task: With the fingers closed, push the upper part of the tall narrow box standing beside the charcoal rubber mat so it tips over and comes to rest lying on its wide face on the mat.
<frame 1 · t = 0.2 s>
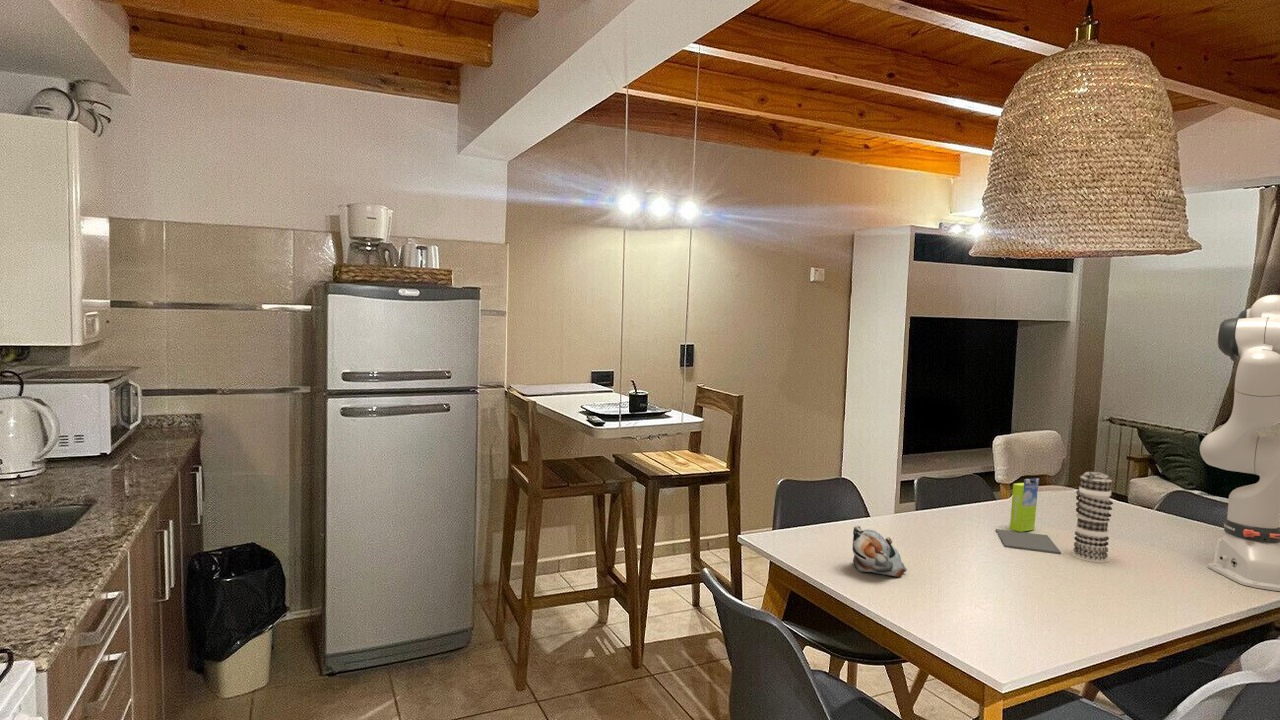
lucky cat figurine: (877, 572, 190), on the table
decorative candle: (1089, 558, 210), on the table
mat: (1026, 541, 224), on the table
box: (1022, 530, 236), on the table, touching mat
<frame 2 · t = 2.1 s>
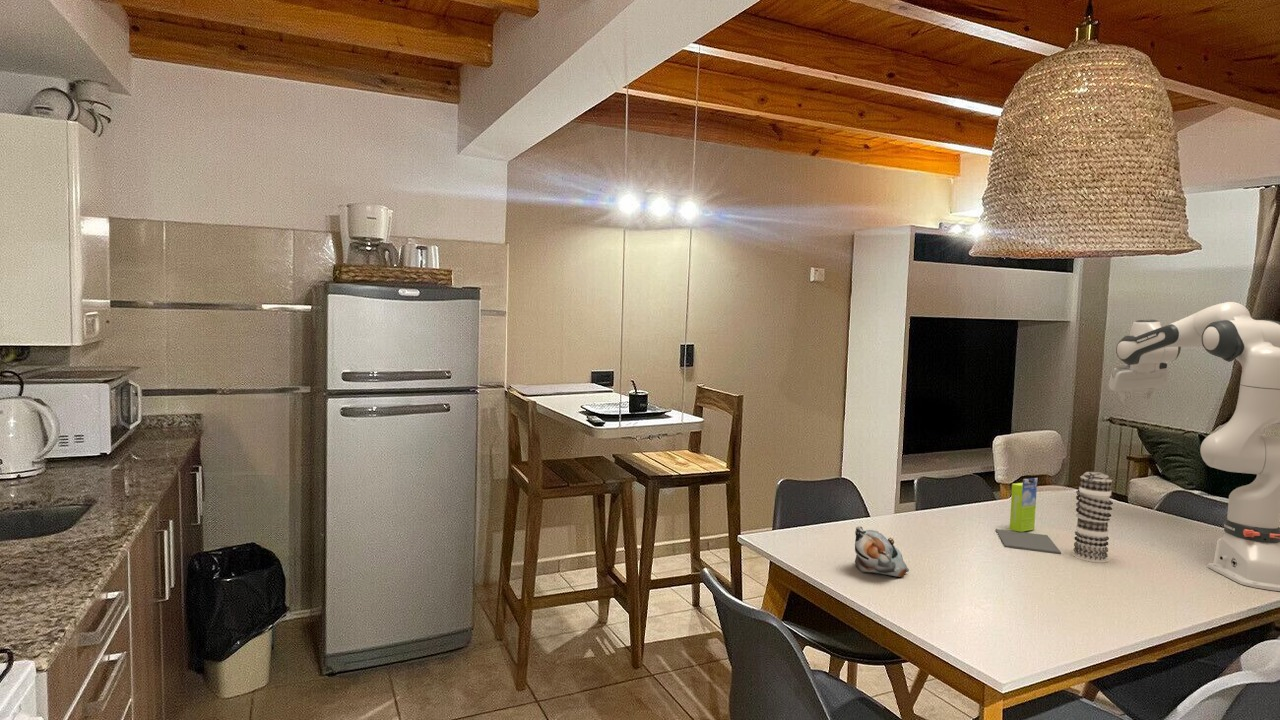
hand: (1135, 400, 258), 43 cm above the table, tool tilted 15°, fingers open, 8 cm apart
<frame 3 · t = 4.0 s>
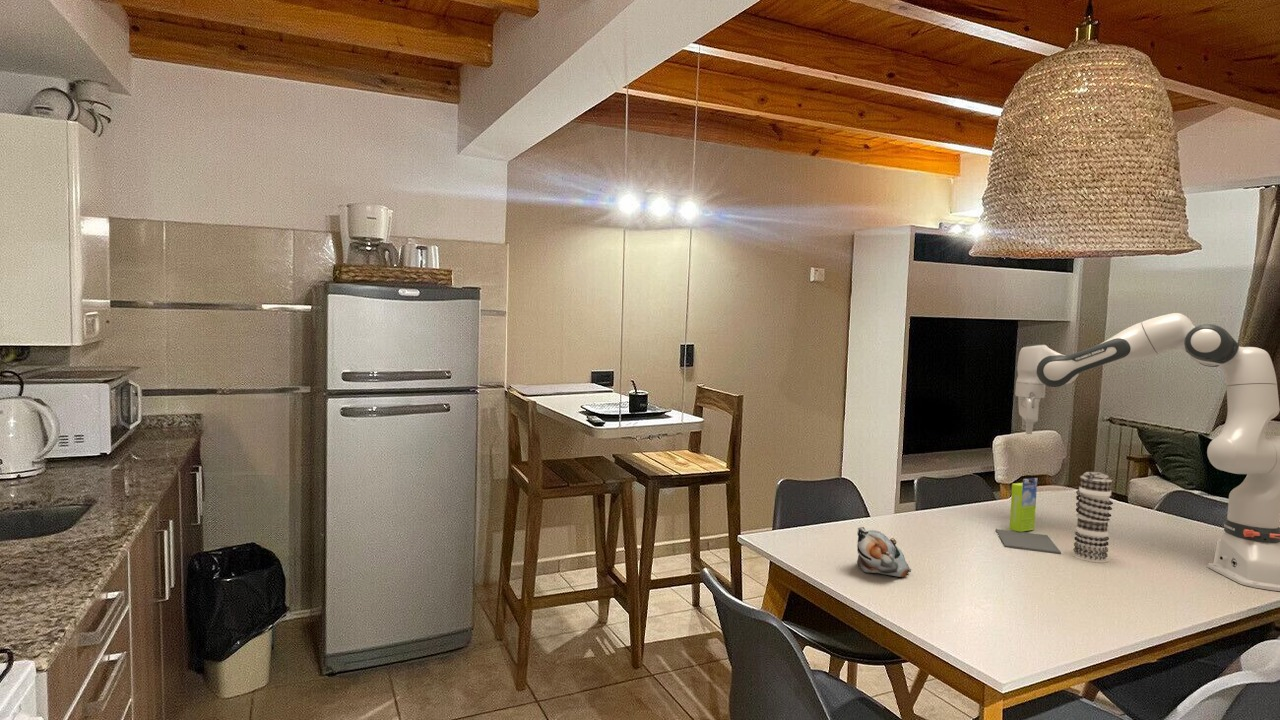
hand: (1026, 432, 244), 32 cm above the table, tool pointing down, fingers open, 8 cm apart
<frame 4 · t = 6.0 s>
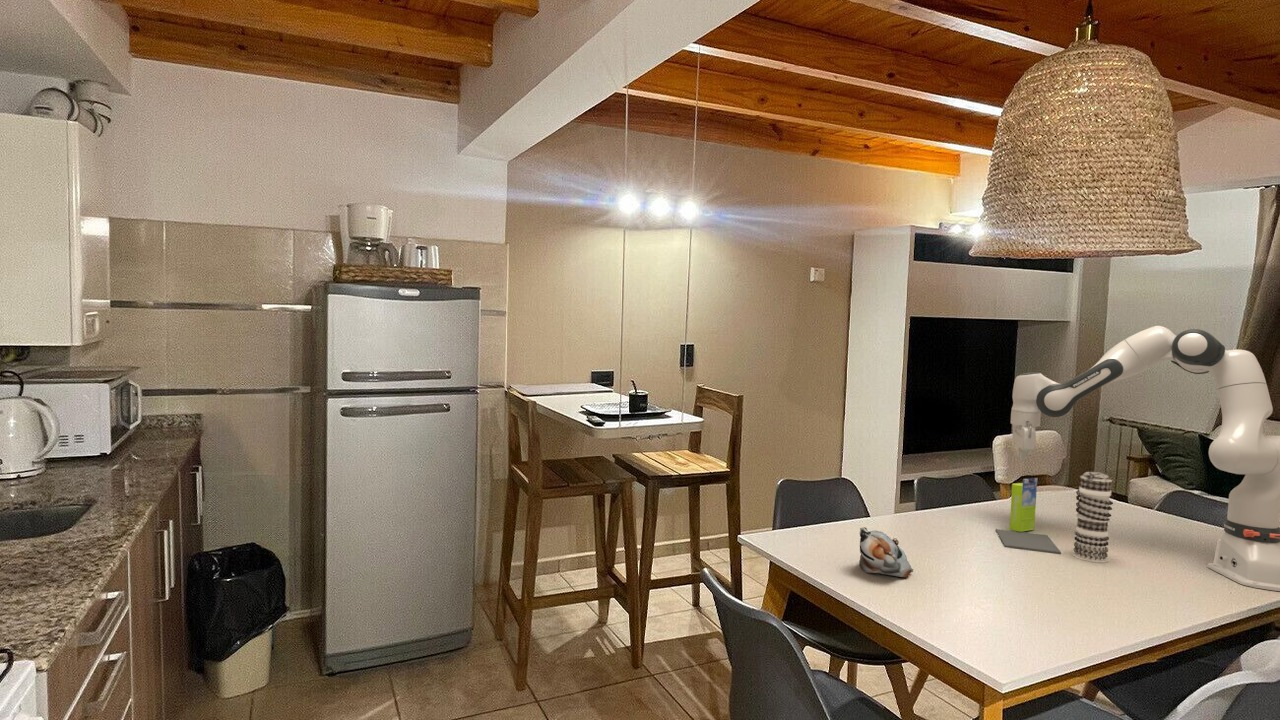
hand: (1022, 460, 243), 22 cm above the table, tool pointing down, fingers closed
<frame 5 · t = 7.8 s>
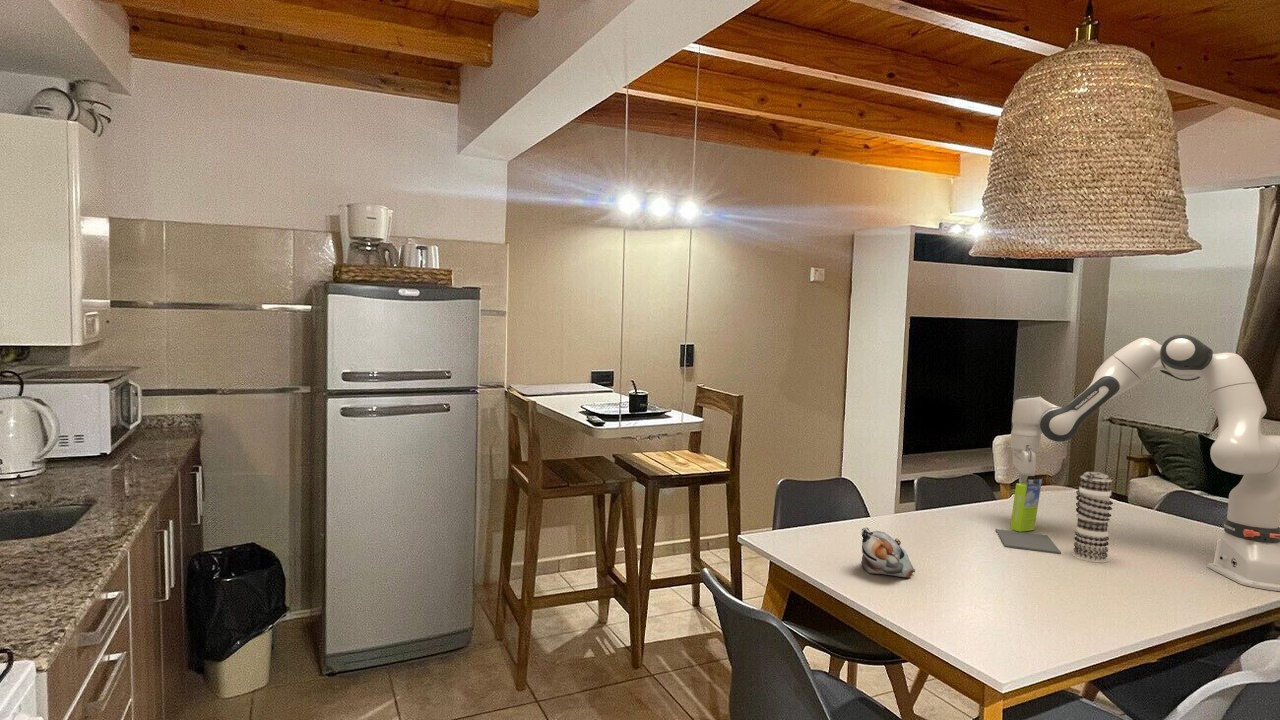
hand: (1022, 484, 240), 14 cm above the table, tool pointing down, fingers closed
box: (1022, 530, 236), on the table, touching gripper, mat
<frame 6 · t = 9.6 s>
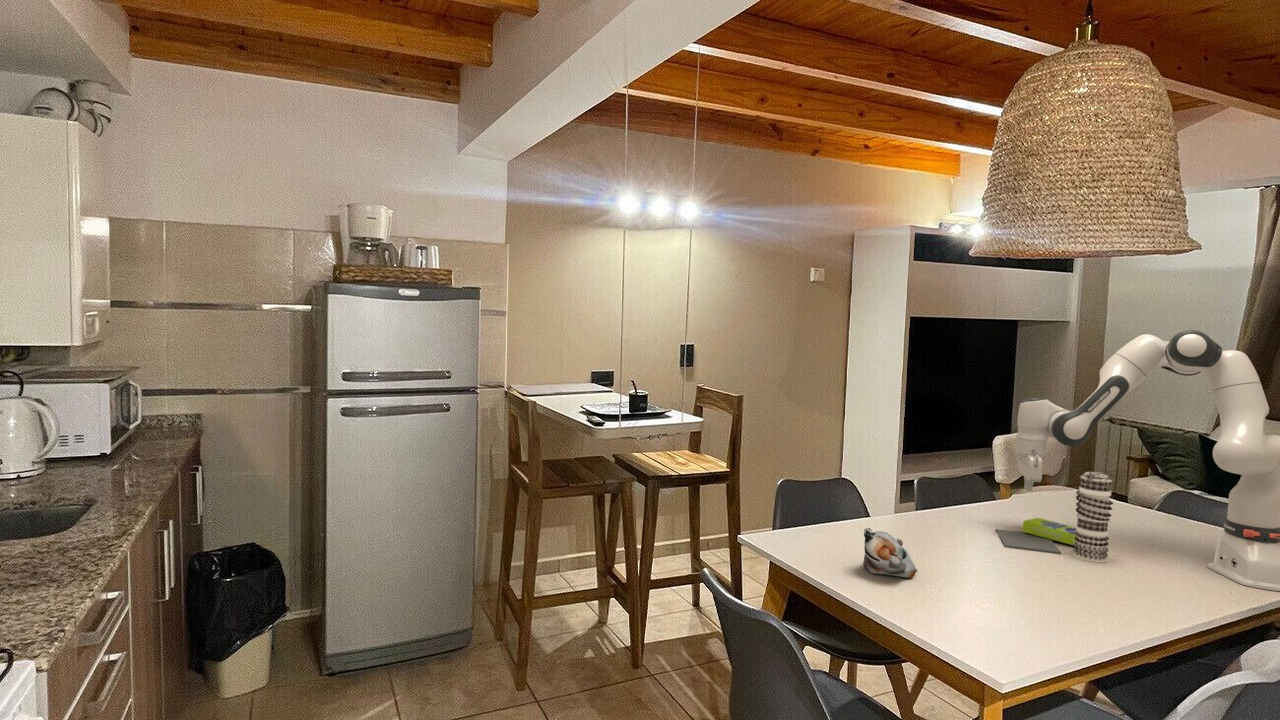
hand: (1028, 490, 231), 15 cm above the table, tool pointing down, fingers closed
box: (1028, 524, 235), point 3 cm above the table, touching mat
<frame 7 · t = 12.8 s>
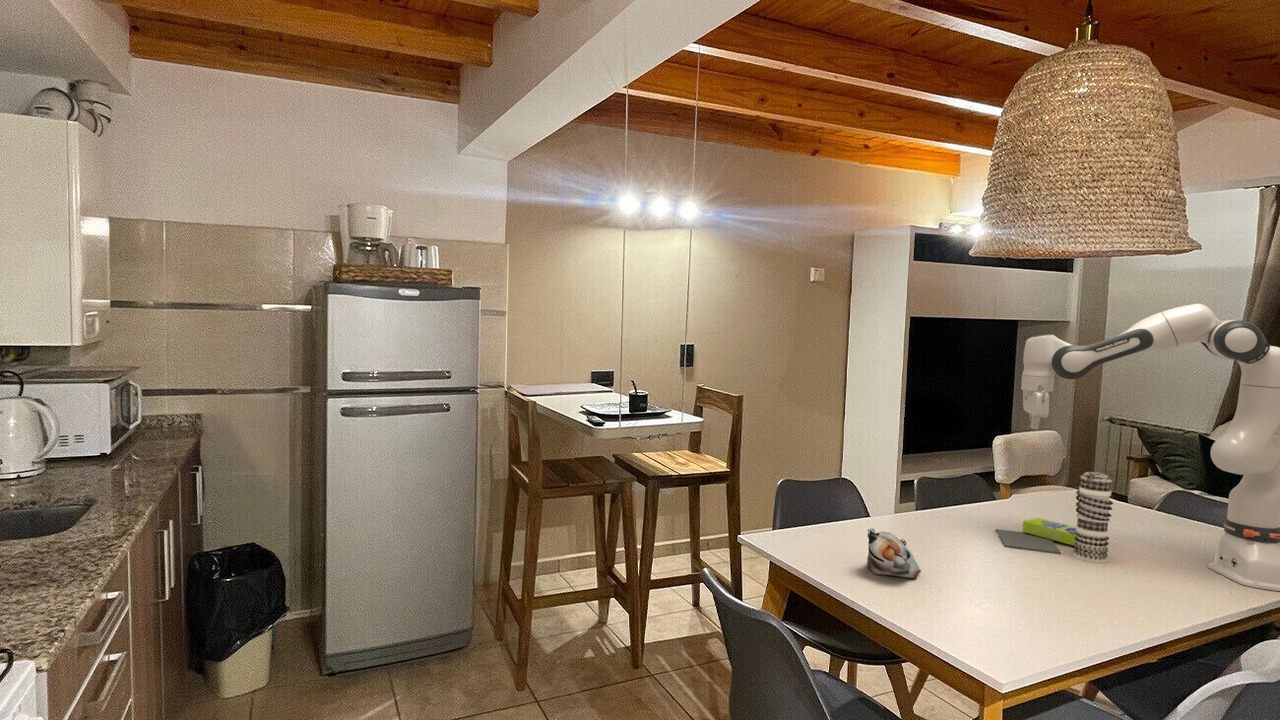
hand: (1034, 428, 227), 35 cm above the table, tool pointing down, fingers closed
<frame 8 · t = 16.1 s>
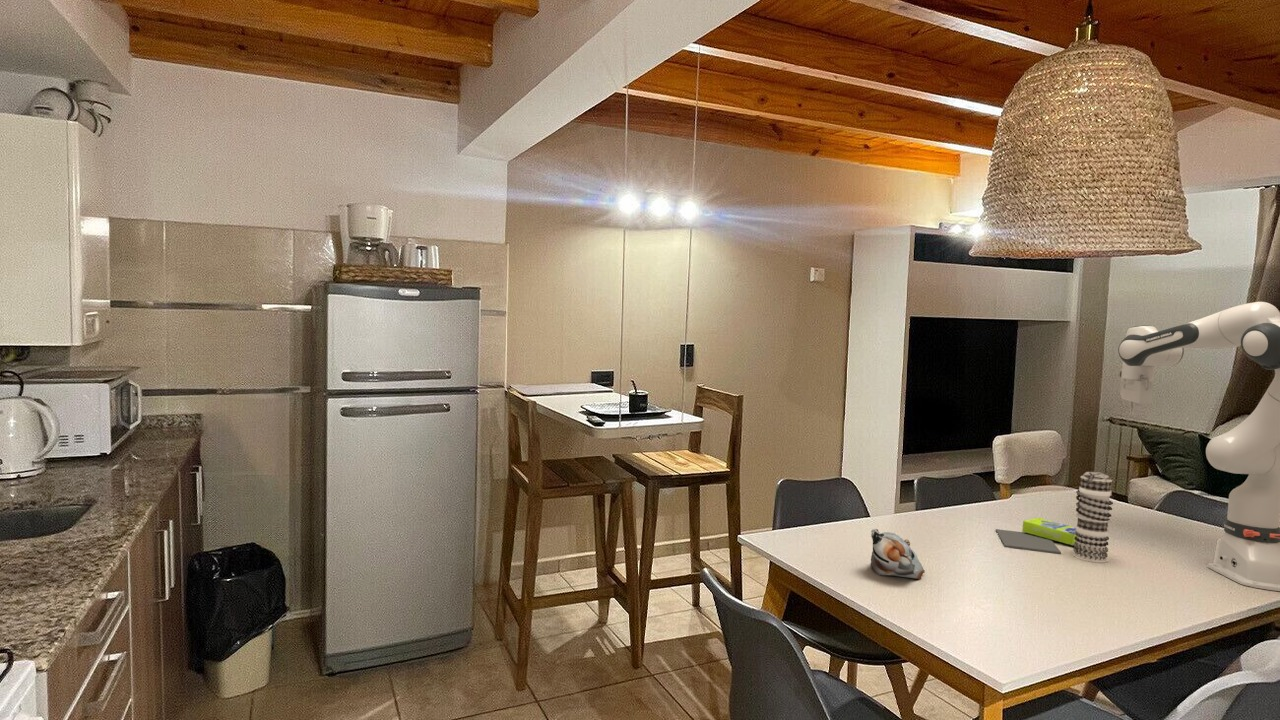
hand: (1134, 415, 239), 39 cm above the table, tool pointing down, fingers closed
at the end: box tilted 92°; box inside the target area on the mat (13.0 cm from its centre), point 2.7 cm above the mat's base; the gripper is holding nothing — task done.
